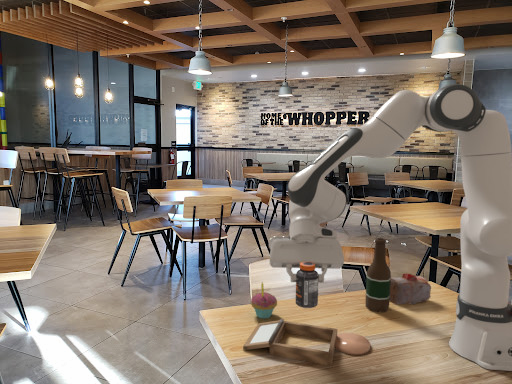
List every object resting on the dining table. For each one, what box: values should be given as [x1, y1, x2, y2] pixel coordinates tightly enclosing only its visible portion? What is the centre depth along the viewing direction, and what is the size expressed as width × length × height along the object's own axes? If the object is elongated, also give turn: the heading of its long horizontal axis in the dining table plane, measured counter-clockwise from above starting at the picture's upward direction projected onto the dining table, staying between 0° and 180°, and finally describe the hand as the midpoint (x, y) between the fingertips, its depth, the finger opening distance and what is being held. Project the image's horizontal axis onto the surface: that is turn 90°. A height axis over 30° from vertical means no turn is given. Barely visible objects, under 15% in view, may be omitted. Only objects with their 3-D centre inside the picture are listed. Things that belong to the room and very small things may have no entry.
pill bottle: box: [295, 262, 319, 309], centre depth 101 cm, size 6×6×11 cm
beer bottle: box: [364, 237, 392, 313], centre depth 127 cm, size 8×8×24 cm
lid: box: [242, 319, 280, 351], centre depth 106 cm, size 7×14×3 cm, turn 163°
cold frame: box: [268, 318, 338, 367], centre depth 103 cm, size 16×14×4 cm
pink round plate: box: [335, 332, 371, 356], centre depth 104 cm, size 10×10×1 cm
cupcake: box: [250, 281, 278, 320], centre depth 121 cm, size 9×8×12 cm
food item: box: [389, 272, 432, 305], centre depth 135 cm, size 14×8×10 cm, turn 106°
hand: (307, 281), depth 100 cm, fingers closed on pill bottle, 6 cm apart
